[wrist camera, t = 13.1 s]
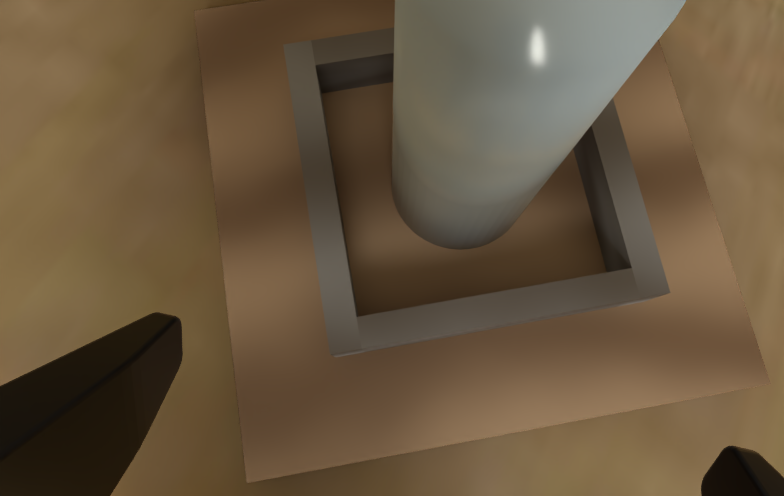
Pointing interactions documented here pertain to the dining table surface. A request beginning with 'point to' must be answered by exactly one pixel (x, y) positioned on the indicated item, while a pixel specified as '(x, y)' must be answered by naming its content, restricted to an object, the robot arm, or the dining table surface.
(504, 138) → the ceramic canister
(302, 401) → the collar board
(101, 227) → the dining table surface
